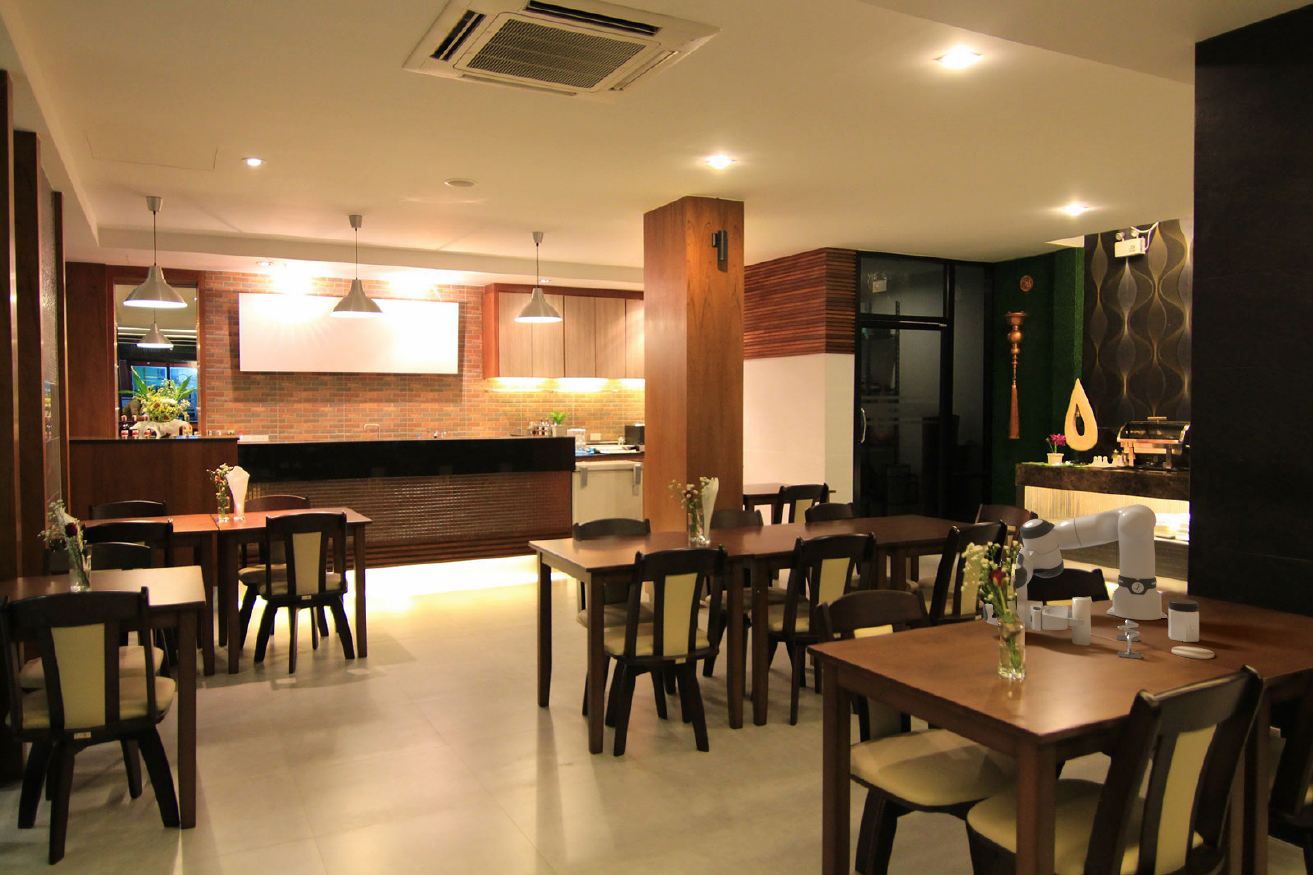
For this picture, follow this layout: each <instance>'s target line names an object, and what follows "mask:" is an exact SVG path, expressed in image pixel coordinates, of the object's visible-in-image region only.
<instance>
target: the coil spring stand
mask: <svg viewBox="0 0 1313 875" xmlns="http://www.w3.org/2000/svg"><path fill="white" fill-rule="evenodd" d="M1139 626H1140V625H1139V623H1137V622H1135V621H1133V620H1130V619H1129V618H1125V625H1117V629H1118V630H1120V631H1124V632H1125V635H1124V634H1116V640H1117V641H1125V642H1127V651H1121V650H1118V651H1117V657H1118V656H1121V657H1120V658H1125V657H1130V658H1129V659H1135V658H1138V659H1137V660H1142V653H1141V652H1132V642H1135V641H1138V642H1139V636H1140V635H1141V632H1140V631H1138V630H1135V629H1134V628H1138V627H1139ZM1132 628H1133V629H1132Z"/></svg>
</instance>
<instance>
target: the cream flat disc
mask: <svg viewBox="0 0 1313 875" xmlns="http://www.w3.org/2000/svg"><path fill="white" fill-rule="evenodd" d="M1170 651H1171V654H1174V655H1176V656H1180V657H1182V658H1189V659H1197V660H1199V659H1201V660H1203V659H1205V660H1207V659H1213V658H1215V652H1214V651H1212V650H1210V649H1208V648H1207V649H1206V648H1203V647H1202V648H1201V647H1196V646H1185V645H1183V646H1182V645H1181V646H1180V645H1179V646H1173V647H1171V650H1170Z"/></svg>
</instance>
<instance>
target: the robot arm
mask: <svg viewBox="0 0 1313 875" xmlns="http://www.w3.org/2000/svg"><path fill="white" fill-rule="evenodd" d="M1156 524H1157V516H1156V513H1155V512H1154V510H1152V509H1151V508H1150V507H1149V506H1147V505H1144V504H1133V505H1132V504H1131V505H1128V506H1122V507H1118V508H1114V509H1111V510H1110V509H1109V510H1105V511H1101V512H1098V513H1092V514H1086V515H1082V516H1078V517H1072V518H1068V519H1064V520H1062V521H1058V522H1055V523H1053V522H1050V521H1048V520H1046V519H1044V518H1043V519H1042V518H1033V519H1029V520H1027V521H1025V522H1023V523H1022V525H1021V526H1020V528H1019V532H1020V537H1021V538H1022V543H1023V546H1021V549H1020V551H1019V553H1018V555H1017V558H1016V569H1015V575H1016V593H1017V614H1018V616H1019V618H1020V619H1021V621H1022V622H1023V623H1025V628H1024V629H1030V630H1033V631H1037V632H1041V631H1042V630H1045V631H1051V630H1052V631H1064V630H1068V626H1070V627H1072V626H1075V625H1084V619H1079V618H1078V619H1072V609H1071V610H1070V608H1069V606H1067V605H1057V604H1046V605H1043V601H1042V600H1041V601H1038V600H1028V588H1027V587H1028V586H1027V585H1028V584H1029V582H1030V581H1031V580H1032V577H1033V575H1035V576H1037V577H1038V578H1039V577H1040V578H1042V579H1050V578H1054V577H1058V576H1059V575H1061V573H1063V572H1064V570H1065V565H1064V559H1063V557H1062V554H1061V550H1075V549H1083V548H1088V547H1094V546H1099V545H1100V546H1101V545H1105V544H1108V543H1112V542H1116V541H1118V548H1119V550H1118V551H1119V574H1118V576H1117V585H1118V586H1117V588H1115V589H1114V590H1113V592H1112V596H1111V598H1112V603H1111V604H1112V606H1111V607H1110V608H1109V609H1108V610H1107V611H1106V614H1107V615H1112V616H1117V617H1119V618H1124V619H1128V620H1130V619H1131V620H1140V621H1154V620H1156V621H1157V620H1159V619H1161V618H1167V619H1168V615H1167V614H1166V613H1165V612H1163V611H1162V593H1160V592H1159V591H1158V590H1157V577H1156V551H1155V527H1156ZM1001 561H1002V559H1001ZM1001 561H1000V563H999V565H998V566H997V567H1001ZM982 610H983V611H982V613H983V619H984V621H985V622H986V623H988V624H990V625H995V626H998V620H997V618H992V617H991V616H992V615H993V605H992V604H983V603H982Z"/></svg>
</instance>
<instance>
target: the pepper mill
mask: <svg viewBox="0 0 1313 875" xmlns="http://www.w3.org/2000/svg"><path fill="white" fill-rule="evenodd" d="M1071 600H1072V602H1071V603H1072V604H1071V606H1072V608H1071V611H1072V619H1078V618H1079V619H1084V625H1075V626H1071V629H1072V630H1071V632H1072V633H1071V636H1072V638H1071V642H1072V644H1073V645H1076V646H1083V647H1085V646H1090V645H1091V640H1092V639H1091V638H1092V636H1091V632H1092V629H1091V628H1092V626H1091V624H1092V623H1091V621H1092V619H1091V618H1092V617H1091V615H1092V614H1091V613H1092V612H1091V611H1092V609H1091V606H1092V602H1091V598H1088V597H1081V596H1080V597H1079V596H1077V597H1076V596H1075V597H1072V599H1071Z"/></svg>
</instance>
